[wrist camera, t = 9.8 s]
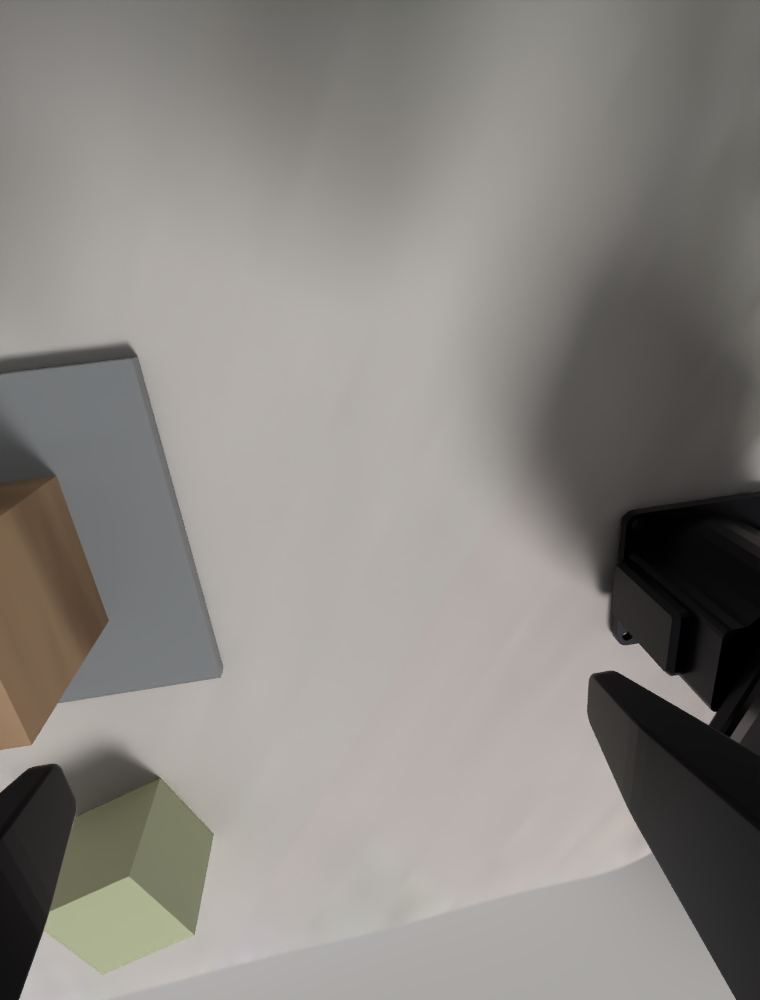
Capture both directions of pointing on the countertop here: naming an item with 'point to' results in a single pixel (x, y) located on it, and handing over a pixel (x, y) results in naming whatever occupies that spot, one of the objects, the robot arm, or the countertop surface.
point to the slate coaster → (114, 519)
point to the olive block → (130, 878)
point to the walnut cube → (41, 606)
